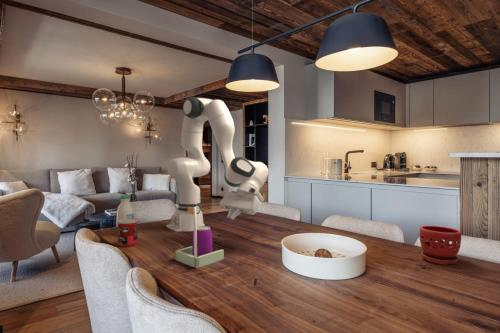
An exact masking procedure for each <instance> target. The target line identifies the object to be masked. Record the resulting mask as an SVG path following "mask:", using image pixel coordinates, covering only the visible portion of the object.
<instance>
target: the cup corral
mask: <svg viewBox="0 0 500 333" xmlns="http://www.w3.org/2000/svg"><path fill="white" fill-rule="evenodd" d="M188 214H193V215H194V256H193V255H192V245H191V246H188V247H184V248H180V249H176V250H174V260H175V261H177V262H180V263H182V264H184V265H187V266H190V267H192V268H194V269H199V268H202V267H205V266H208V265H211V264H214V263H217V262H220V261H222V260H224V259H225V250H224V249H219V250H214V251H212V253H208V254H205V255H202V256H199V257H197V222H196V207H188Z"/></svg>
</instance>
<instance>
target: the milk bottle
mask: <svg viewBox="0 0 500 333" xmlns="http://www.w3.org/2000/svg"><path fill="white" fill-rule="evenodd" d="M124 219H135V212H134V208H133V205H132V204H131V195H130V194H121V195H120V204H119V207H118V209H117V222H118V221H120V220H124Z"/></svg>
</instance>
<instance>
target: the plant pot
mask: <svg viewBox="0 0 500 333" xmlns="http://www.w3.org/2000/svg"><path fill="white" fill-rule="evenodd" d="M450 242H451V243H450ZM419 243H420V247H421V249H422V252H421V254H420V255H421V257H422V258H423V259H424V260H426V261H428V262H430V263H433V264H437V263H438V264H437V265H453V264H456V263H457V262H458V261H459V257H457V255H458V253H459V252H460V248H461V244H462V231H461V230H459V229H455V228H453V227H449V226H448V227H447V226H439V225H438V226H437V225H422V226H420V227H419Z"/></svg>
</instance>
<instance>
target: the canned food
mask: <svg viewBox="0 0 500 333" xmlns="http://www.w3.org/2000/svg"><path fill="white" fill-rule="evenodd" d="M117 237H118V238H117V242H118V243H117V244H118V246H119V247H120V248H128V247H129V248H130V247H134V246H136V245H137V244H138V221H137V219H136V218H134V219H124V220H120V221H118V220H117Z"/></svg>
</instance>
